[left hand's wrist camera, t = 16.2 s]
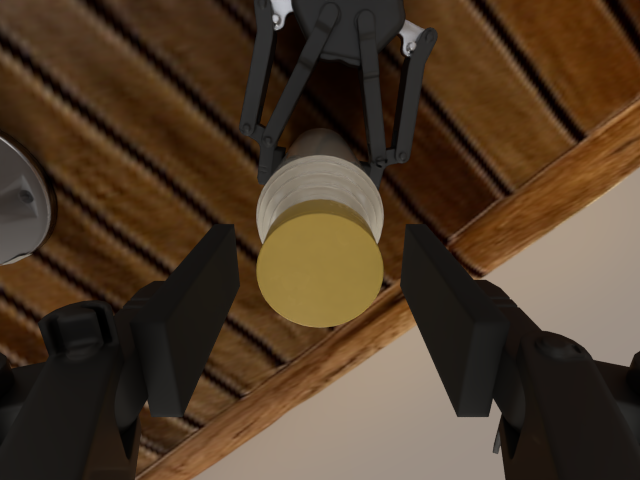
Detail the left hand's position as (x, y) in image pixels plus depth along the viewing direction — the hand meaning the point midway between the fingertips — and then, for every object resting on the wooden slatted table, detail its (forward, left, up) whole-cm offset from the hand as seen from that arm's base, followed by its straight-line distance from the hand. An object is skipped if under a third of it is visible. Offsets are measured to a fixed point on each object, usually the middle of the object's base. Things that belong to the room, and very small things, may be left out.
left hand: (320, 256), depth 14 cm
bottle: (0, 0, -25) cm, 25 cm away
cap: (0, 0, +1) cm, 1 cm away
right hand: (+3, -4, -18) cm, 18 cm away
